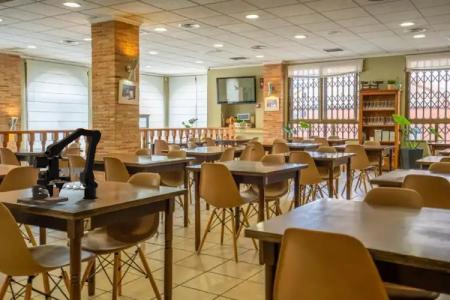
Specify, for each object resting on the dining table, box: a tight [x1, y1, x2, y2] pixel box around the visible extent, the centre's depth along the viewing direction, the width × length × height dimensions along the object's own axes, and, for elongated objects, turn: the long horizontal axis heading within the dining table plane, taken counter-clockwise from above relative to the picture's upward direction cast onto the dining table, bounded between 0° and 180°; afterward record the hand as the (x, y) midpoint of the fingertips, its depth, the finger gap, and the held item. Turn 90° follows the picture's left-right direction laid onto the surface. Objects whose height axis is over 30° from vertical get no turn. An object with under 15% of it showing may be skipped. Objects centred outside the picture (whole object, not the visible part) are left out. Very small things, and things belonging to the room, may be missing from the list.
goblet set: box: [59, 166, 86, 188], centre depth 324 cm, size 28×6×13 cm, turn 69°
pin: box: [30, 186, 60, 198], centre depth 265 cm, size 18×4×5 cm, turn 61°
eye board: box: [16, 184, 69, 206], centre depth 266 cm, size 20×18×9 cm
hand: (54, 196), depth 262 cm, fingers closed on pin, 4 cm apart
